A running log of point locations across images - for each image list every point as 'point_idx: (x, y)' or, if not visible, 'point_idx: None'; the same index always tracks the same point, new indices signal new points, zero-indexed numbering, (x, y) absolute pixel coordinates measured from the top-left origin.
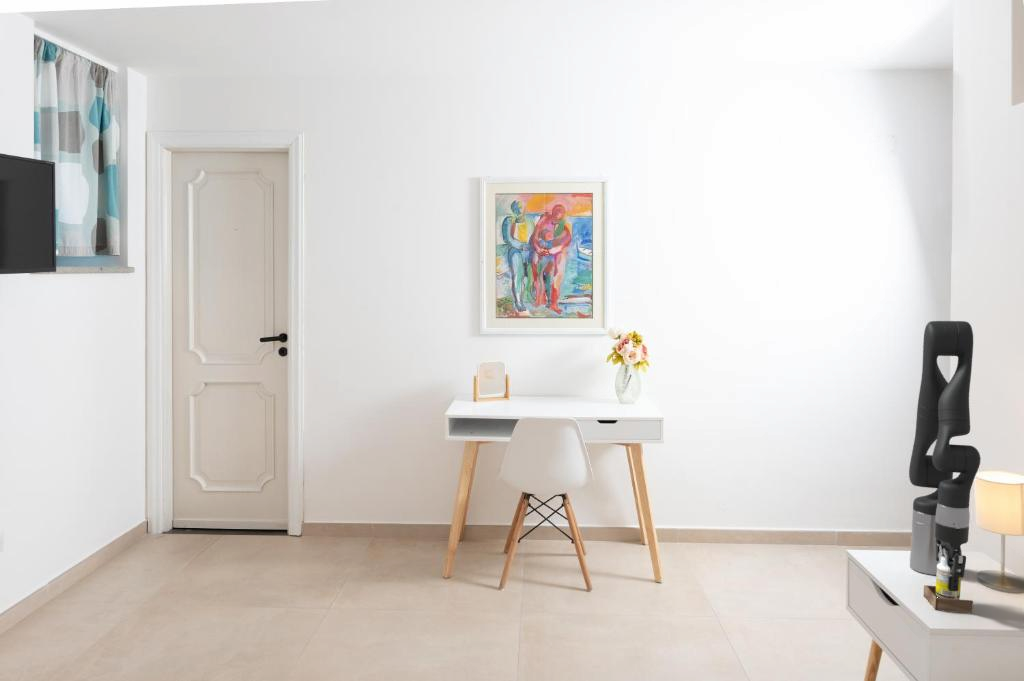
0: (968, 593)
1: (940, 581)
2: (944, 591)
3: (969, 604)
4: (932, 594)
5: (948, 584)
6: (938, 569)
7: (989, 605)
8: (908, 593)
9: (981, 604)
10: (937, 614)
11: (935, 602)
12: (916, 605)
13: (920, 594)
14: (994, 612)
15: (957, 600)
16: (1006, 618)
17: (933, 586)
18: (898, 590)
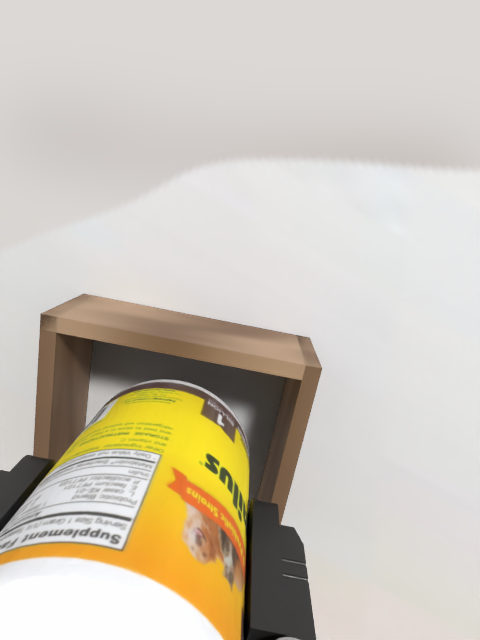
0: (339, 610)
1: (88, 454)
2: (88, 425)
3: None
4: (123, 330)
5: (12, 487)
6: (64, 551)
7: None
8: (367, 257)
9: None
10: (16, 270)
11: (64, 306)
12: (153, 201)
13: (343, 334)
14: None
15: (34, 455)
16: None
17: (292, 428)
18: (430, 208)
